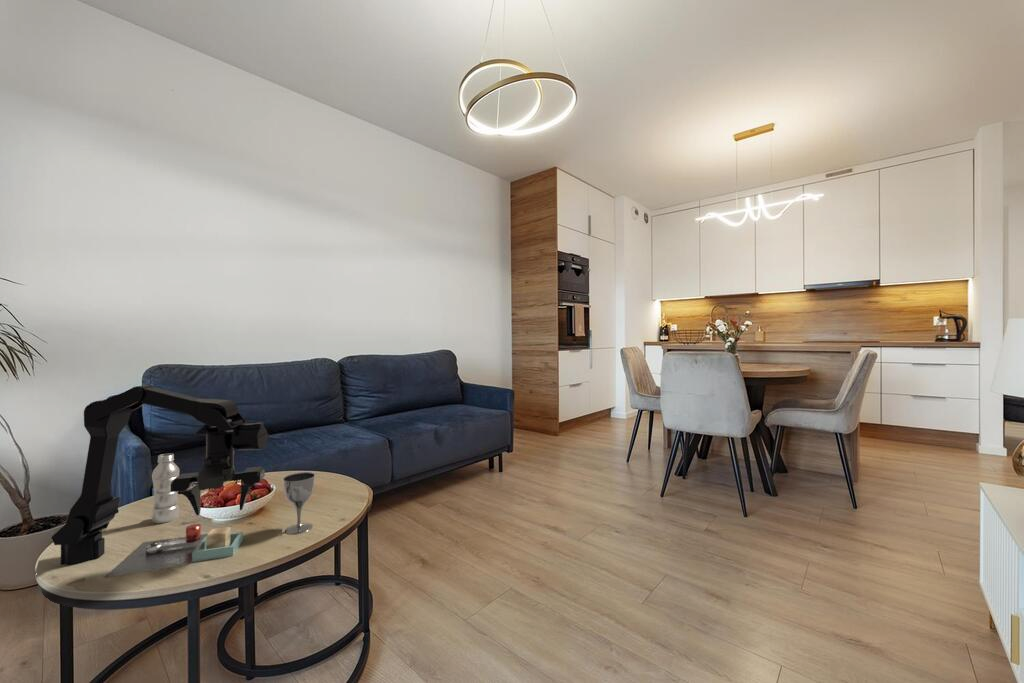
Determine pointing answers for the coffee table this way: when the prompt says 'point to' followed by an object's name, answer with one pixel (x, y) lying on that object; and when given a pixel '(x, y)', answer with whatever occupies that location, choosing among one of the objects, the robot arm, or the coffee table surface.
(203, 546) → the tray
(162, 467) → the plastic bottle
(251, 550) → the coffee table surface
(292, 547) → the coffee table surface
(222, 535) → the block
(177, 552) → the bedplate
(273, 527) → the coffee table surface
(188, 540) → the crank
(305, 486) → the wine glass
